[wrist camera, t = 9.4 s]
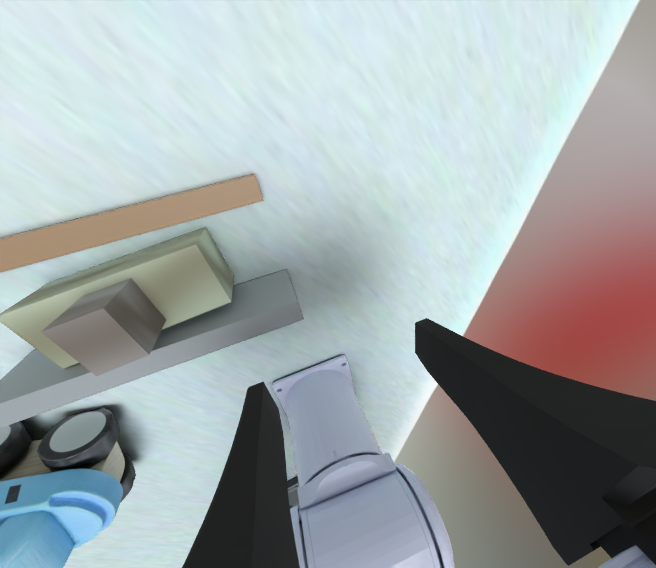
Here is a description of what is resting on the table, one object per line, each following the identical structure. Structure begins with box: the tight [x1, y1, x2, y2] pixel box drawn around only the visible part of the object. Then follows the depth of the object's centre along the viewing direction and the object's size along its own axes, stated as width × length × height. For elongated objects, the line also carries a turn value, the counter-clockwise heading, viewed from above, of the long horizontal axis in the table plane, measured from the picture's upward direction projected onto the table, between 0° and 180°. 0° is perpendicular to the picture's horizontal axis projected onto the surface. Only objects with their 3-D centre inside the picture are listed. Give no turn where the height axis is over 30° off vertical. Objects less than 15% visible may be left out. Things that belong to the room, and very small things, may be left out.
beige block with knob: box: [0, 227, 234, 376], centre depth 14 cm, size 4×10×7 cm, turn 106°
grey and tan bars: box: [0, 174, 304, 428], centre depth 14 cm, size 9×18×5 cm, turn 102°
